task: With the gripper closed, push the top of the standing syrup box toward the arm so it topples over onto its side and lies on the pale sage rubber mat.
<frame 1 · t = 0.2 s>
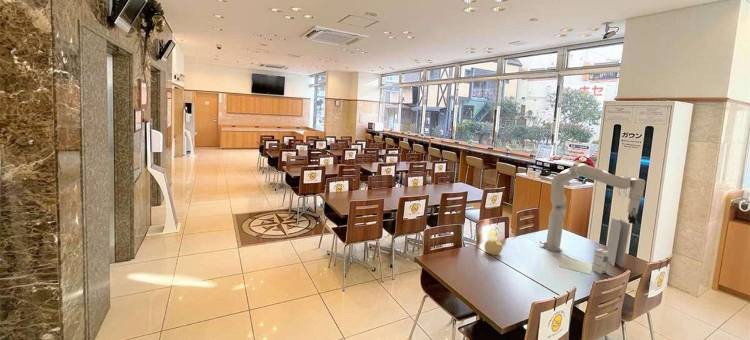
hand: (631, 221, 242), 31 cm above the table, fingers open, 9 cm apart
mat: (576, 265, 241), on the table
syrup box: (598, 271, 234), on the table
upright grey panel: (613, 262, 251), on the table
sculpture: (492, 253, 255), on the table
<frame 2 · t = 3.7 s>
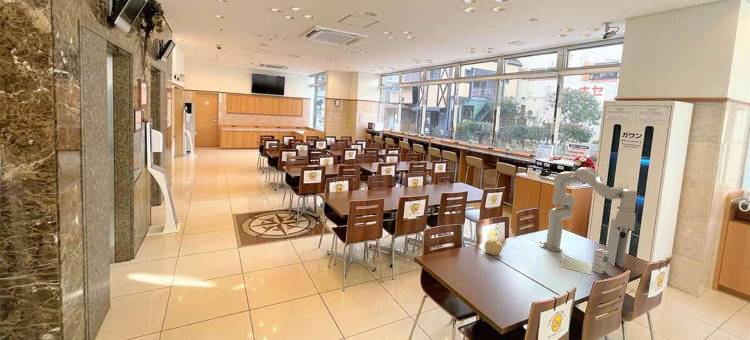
hand: (622, 237, 225), 25 cm above the table, fingers closed
nothing on the table moved.
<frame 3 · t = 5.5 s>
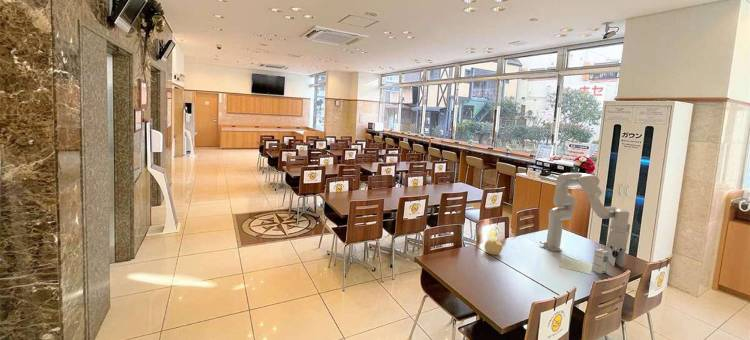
hand: (614, 256, 229), 12 cm above the table, fingers closed
nothing on the table moved.
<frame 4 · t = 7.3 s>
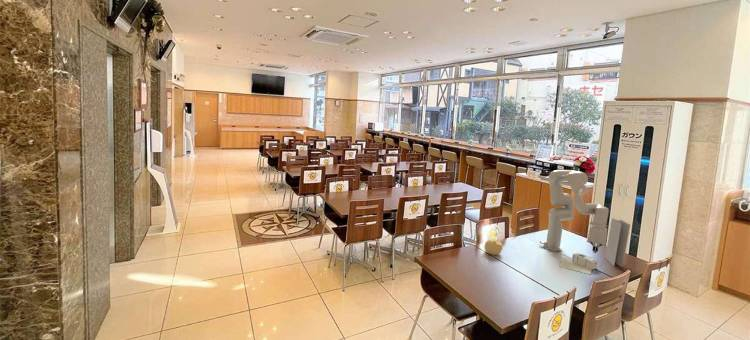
hand: (594, 252, 234), 12 cm above the table, fingers closed
syrup box: (595, 265, 236), point 3 cm above the table, touching mat
everything else where it was.
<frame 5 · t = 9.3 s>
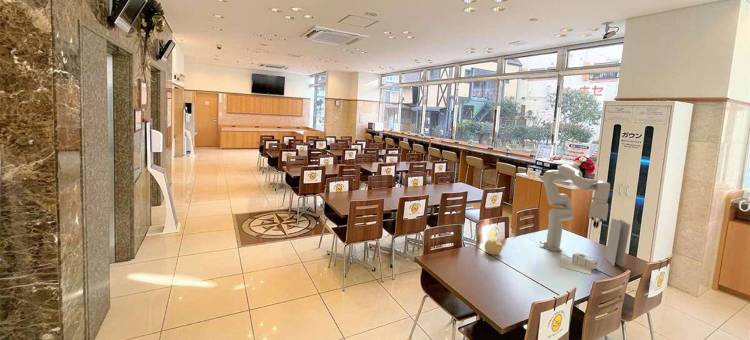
hand: (595, 227, 235), 28 cm above the table, fingers closed
nothing on the table moved.
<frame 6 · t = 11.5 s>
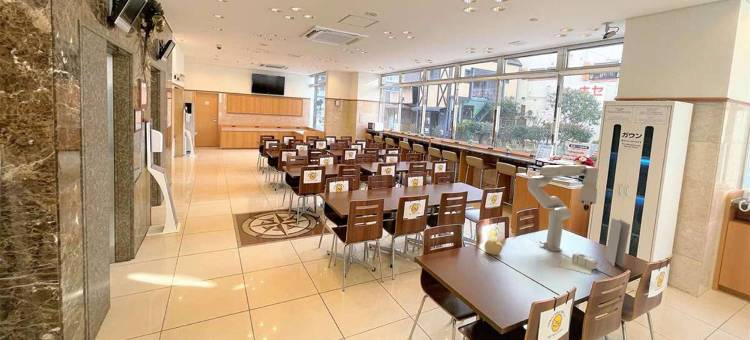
hand: (585, 210, 250), 35 cm above the table, fingers closed
nothing on the table moved.
at the end: syrup box tilted 89°; syrup box inside the target area (8.5 cm from its centre), point 3.1 cm above the table; syrup box touching mat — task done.
